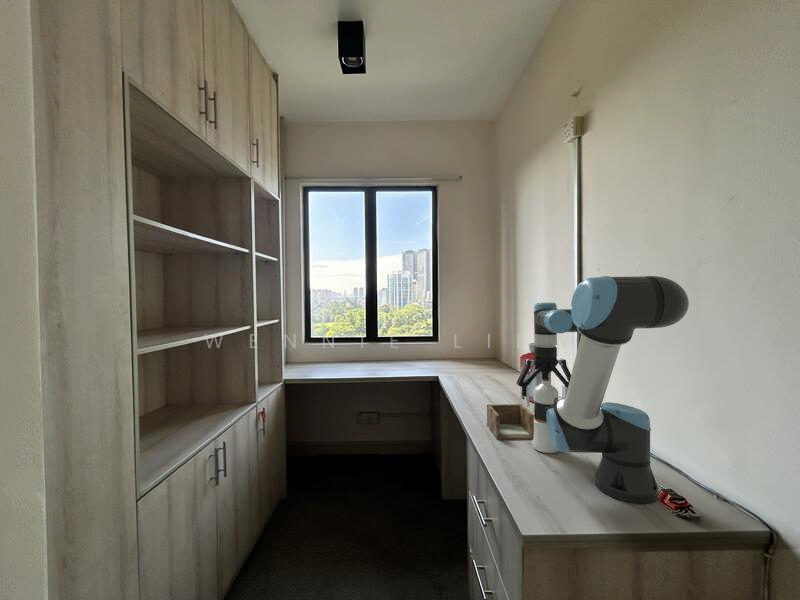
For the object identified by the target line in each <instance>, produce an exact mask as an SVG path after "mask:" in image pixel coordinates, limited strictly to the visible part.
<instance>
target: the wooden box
mask: <svg viewBox="0 0 800 600" xmlns="http://www.w3.org/2000/svg"><path fill="white" fill-rule="evenodd" d="M486 414H487V415H486V417H487V419H486V421H487V423H486V426H487V428H488V427H489V428H488V429H489V431H490V432H491V434H492V435H493V436H494V438H495V439H496V440H497V441H501V440H502V441H507V440H508V441H510V440H511V441H513V440H515V441H516V440H519V441H522V440H533V438H534V414H533V413H532V412H531V411H530V410H528V408H526V407H525V406H524V405H523V404H520V403H516V404H514V403H513V404H487V406H486Z"/></svg>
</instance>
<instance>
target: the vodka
mask: <svg viewBox="0 0 800 600" xmlns="http://www.w3.org/2000/svg"><path fill="white" fill-rule="evenodd" d="M533 394H534V403H533V411H534V414H533V415H534V438H533V439H532V446H533V448H534V449H535V450H536V451H537V452H539V453H543V454H548V455H549V454H557V453H558V452H560V451H558V450H556V449H555V448H554V446H553V444H552V442H551V439H550V436H549V432H548V427H547V418H546V414H547V410H548V409H552V408H554V409H556V408H557V404H558V402H559V401H560V400H559V395H560V394H559V391H558V389H557V388H556V387H555V386H554V385H552V383H551V384H550V378H549V366H545V369H544V372H542V383H541V384H540V385H538V386H537V387H535V388H534V391H533Z"/></svg>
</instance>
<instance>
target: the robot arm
mask: <svg viewBox="0 0 800 600" xmlns="http://www.w3.org/2000/svg"><path fill="white" fill-rule="evenodd" d="M689 302H690V301H689V297H688V294H687V292H686V291H685V288H683V287H682V286H681V285H680V284H679V283H677V282H675V280H672V279H670V278H667V277H664V276H657V275H646V276H643V275H642V276H641V275H640V276H638V275H637V276H608V275H602V276H598V277H595V276H594V277H588V278H586V279H584V280H581V281H580V282H579V284H578V285H577V286H576V288H575V290H574V292H573V294H572V298H571V302H570V306H571V308H568V309H566V308H565V309H559V308H557V307H558V305H557V304H556V303H555V302H536V303H535V304H534V307H533V308H534V309H533V324H534V327H533V330H534V332H533V333H534V335H533V336H534V337H533V339H534V342H533V343H534V344H535V345H536V346H535V347H534V357H535V358H534V360H529V359H526V360H525V366H524V368H523V370H522V372H521V374H520V373H519V376H518V379H517V380H516V385H517V386H519V387H520V386H521V387H522V394H521V395H522V396H524V403H523V404H524V405H525V406H526V407H530V401H529V388H528V387H527V386H528V385H529V384H530V383H531V381H532V380H533V379H534V378H535V377H536V375H537V374H539V373H540V372H544V369H545V366H549V372H551V373H554V375H555V376H556V377H557V379H559V381H561V383H562V384H563V385H561V399H560V400H559V401H558V404H557V408H556V409H554V408H552V409H548V410H547V414H546V418H547V427H548V432H549V436H550V439H551V442H552V444H553V446H554V448H555V449H556V450H558V451H559V452H561V453H562V452H564V453H569V454H571V453H584V454H585V453H593V454H595V453H596V454H598V453H601V458H600V461H599V464H598V466H597V469H596V472H595V474H594V475H595V477H594V478H595V479H594V483H595V485H596V488H597V489H598V490H600V491H601V492H602V493H604V494H605V495H607V496H609V497H612V498H614V499H617V500H619V501H623V502H627V503H633V504H652V503H654V502H657V500H658V499H659V486H658V484H657V481H656V478H655V476H654V472H653V469H652V465H651V431H652V428H651V420H650V417H649V415H648V414H647V413H646V412H645V411H643V410H641V409H639V408H637V407H634V406H631V405H627V404H622V403H618V402H617V403H616V402H611V401H610V402H609V401H608V402H607V401H606V402H603V401H604V398H605V395H606V392H607V389H608V386H609V383H610V380H611V377H612V373H613V371H614V367H615V364H616V361H617V358H618V356H619V352H620V349H621V347H622V345H625V344H627V343H629V342H631V340H632V338H633V334H634V331H635V330H637V329H659V328H665V327H669V326H672V325H675V324H676V323H678V322H681V320H682V319H683V318H684V317H685V316H686V314H687V312H688V310H689ZM565 333H579V334H580V340H579V343H578V347H577V351H576V353H575V358H574V362H573V367H572V369H571V371H570V369H569V367H568V366H567V360H566V359H564V358H559V359H557V357H558V347H557V345H558V334H565ZM532 364H534V365H535V367H534V368H533V370H532V372H531V373H530V374H529V375H528V376H527V378H526V375H527V373H528V371H529V369H530V367H531V366H532ZM557 365H559V366H560V368H561V370H562V371H563V373H564V375H565V377H566V378H565V377H564V376H563V375H562V373H561V372H560V370H559V369H558V368H557ZM525 378H526V379H525Z"/></svg>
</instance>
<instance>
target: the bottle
mask: <svg viewBox="0 0 800 600" xmlns="http://www.w3.org/2000/svg"><path fill="white" fill-rule="evenodd" d="M535 346H536V345H535V344H534V342H529V343H528V349H529V352H527V353H524V354H522V355H521V356H520V357H519V358H520V359H519V360H520V362H519V363H520V365H519V370H520V371H519V375H520V374H521V372H522V370H523V368H524V366H525V360H526V359H529V360H534V358H535V357H534V347H535ZM534 367H535V365H534V364H532V366H531V367H530V369H529V371H528V373H527V375H526V378H527V376H528V375H529V374H530V373H531V372H532V370H533V368H534ZM526 378H525V379H526ZM549 378H550V384H551V385H552V372H549ZM541 383H542V372H540V373H539V374H537V375H536V377H535V378H534V379H533V380H532V381H531V383H530V384H529V385H528V386H527V387H528V388H529V402H531V403H533V404H534V394H533V391H534V388H535V387H537V386H538V385H540V384H541ZM519 387H520V391H519V392H520V394H521V395H520V397H521V398H522V399H523V398H524V396H522V387H521V386H519Z"/></svg>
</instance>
